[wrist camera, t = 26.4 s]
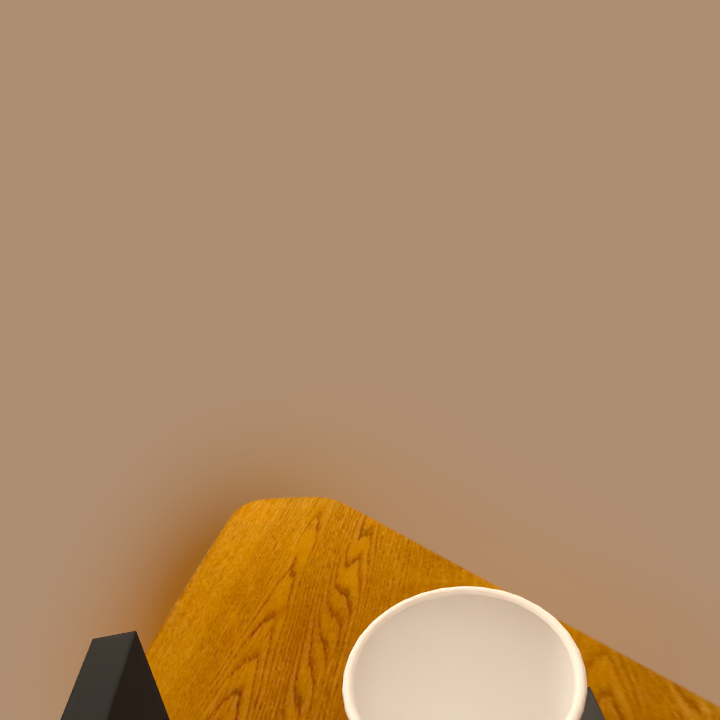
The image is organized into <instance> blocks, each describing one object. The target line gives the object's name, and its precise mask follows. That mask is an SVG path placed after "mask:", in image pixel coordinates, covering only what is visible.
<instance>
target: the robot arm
mask: <svg viewBox="0 0 720 720" xmlns="http://www.w3.org/2000/svg"><path fill="white" fill-rule="evenodd" d="M61 720H169V717H168V714H167V712H166V709H165V706H164V704H163V701H162V698H161V696H160V693H159V690H158V688H157V685H156V682H155V680H154V677H153V675H152V672H151V669H150V667H149V664H148V661H147V659H146V656H145V653H144V651H143V648H142V645H141V643H140V640H139V638H138V635H137V632H136V631H133V632H128V633H122V634H117V635H112V636H107V637H101V638H95V639H93V640H92V642H91V645H90V647H89V650H88V652H87V655H86V657H85V660H84V662H83V665H82V667H81V670H80V673H79V675H78V677H77V680H76V682H75V685H74V687H73V690H72V692H71V695H70V698H69V700H68V702H67V705H66V708H65V710H64V713H63V715H62V718H61Z"/></svg>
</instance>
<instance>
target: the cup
mask: <svg viewBox="0 0 720 720" xmlns="http://www.w3.org/2000/svg"><path fill="white" fill-rule="evenodd" d="M342 692H343V698H344V705H345V712H346V714H347V717H348V719H349V720H580V719H581V717H582V714H583V712H584V707H585V702H586V696H587V678H586V669H585V666H584V663H583V660H582V656H581V653H580V650H579V649H578V647H577V645H576V644H575V642H574V640H573V639H572V637H571V635H570V634H569V632H568V631H567V630H566V629H565V628H564V627H563V626H562V625H561V624H560V623H559V622H558V620H557V619H556V618H554V617H553V616H552V615H550V614H549V613H548V612H546V611H545V610H544V609H542V608H541V607H540V606H538V605H536V604H534V603H532V602H530V601H528V600H526V599H524V598H522V597H520V596H517V595H514V594H511V593H508V592H505V591H501V590H496V589H490V588H484V587H464V586H461V587H451V588H441V589H437V590H433V591H429V592H425V593H421V594H419V595H416V596H414V597H411V598H409V599H406V600H404V601H402V602H400V603H398V604H397V605H395V606H393V607H392V608H390V609H388V610H387V611H385V612H384V613H383V614H382V615H380V616H379V617H378V618H377V619H376V620H374V621H373V622H372V623H371V624H370V625H369V626H368V628H367V629H366V630H365V631H364V632H363V633H362V635H361V636H360V637H359V639H358V640H357V642H356V644H355V646H354V647H353V649H352V651H351V653H350V655H349V658H348V661H347V664H346V668H345V671H344V678H343V690H342Z"/></svg>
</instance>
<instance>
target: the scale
mask: <svg viewBox="0 0 720 720" xmlns="http://www.w3.org/2000/svg"><path fill="white" fill-rule="evenodd" d="M580 720H605V719H604V716H603V714H602V712H601V710H600V708H599V706H598V704H597V702H596V700H595V698H594V695H593V693H592V691H591V689H590V687H587V696H586V702H585V707H584V712H583V714H582V717H581V719H580Z"/></svg>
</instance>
